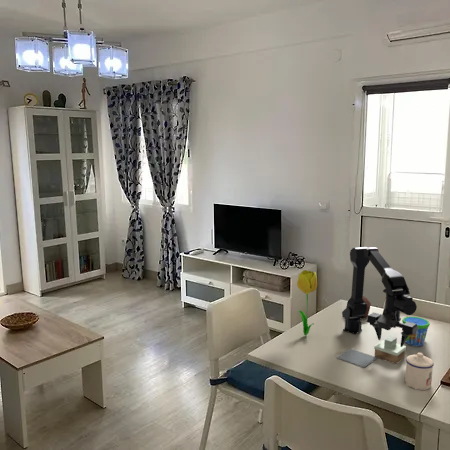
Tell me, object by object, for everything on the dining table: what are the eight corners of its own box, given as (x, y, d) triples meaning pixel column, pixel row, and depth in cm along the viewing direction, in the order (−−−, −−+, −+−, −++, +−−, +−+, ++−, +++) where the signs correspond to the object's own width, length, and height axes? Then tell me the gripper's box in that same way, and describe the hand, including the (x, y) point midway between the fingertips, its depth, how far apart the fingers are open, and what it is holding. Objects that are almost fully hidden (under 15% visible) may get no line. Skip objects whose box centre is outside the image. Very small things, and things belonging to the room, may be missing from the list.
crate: (374, 356, 186) (374, 348, 185) (383, 350, 191) (383, 342, 191) (396, 364, 180) (396, 355, 179) (404, 357, 185) (405, 349, 185)
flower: (317, 334, 207) (320, 270, 202) (312, 341, 200) (314, 274, 195) (299, 331, 211) (301, 267, 206) (293, 337, 204) (295, 272, 199)
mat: (336, 358, 185) (336, 357, 185) (350, 349, 192) (350, 348, 192) (364, 367, 176) (364, 367, 176) (377, 358, 184) (377, 357, 184)
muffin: (348, 310, 238) (349, 291, 236) (371, 313, 233) (372, 294, 232) (345, 318, 227) (346, 298, 225) (368, 321, 223) (369, 301, 221)
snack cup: (414, 334, 207) (416, 313, 205) (436, 343, 198) (438, 320, 196) (392, 343, 198) (393, 320, 197) (414, 352, 190) (415, 328, 188)
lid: (374, 348, 185) (374, 338, 184) (383, 342, 191) (384, 332, 190) (397, 356, 179) (397, 345, 178) (406, 349, 185) (406, 338, 184)
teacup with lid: (432, 392, 159) (434, 361, 157) (403, 387, 162) (406, 356, 160) (431, 376, 170) (433, 347, 168) (404, 372, 173) (407, 343, 171)
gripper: (361, 305, 182) (359, 342, 185) (408, 317, 170) (405, 357, 172) (374, 298, 190) (372, 334, 193) (419, 309, 178) (416, 347, 180)
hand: (390, 343), depth 185 cm, fingers open, 9 cm apart
